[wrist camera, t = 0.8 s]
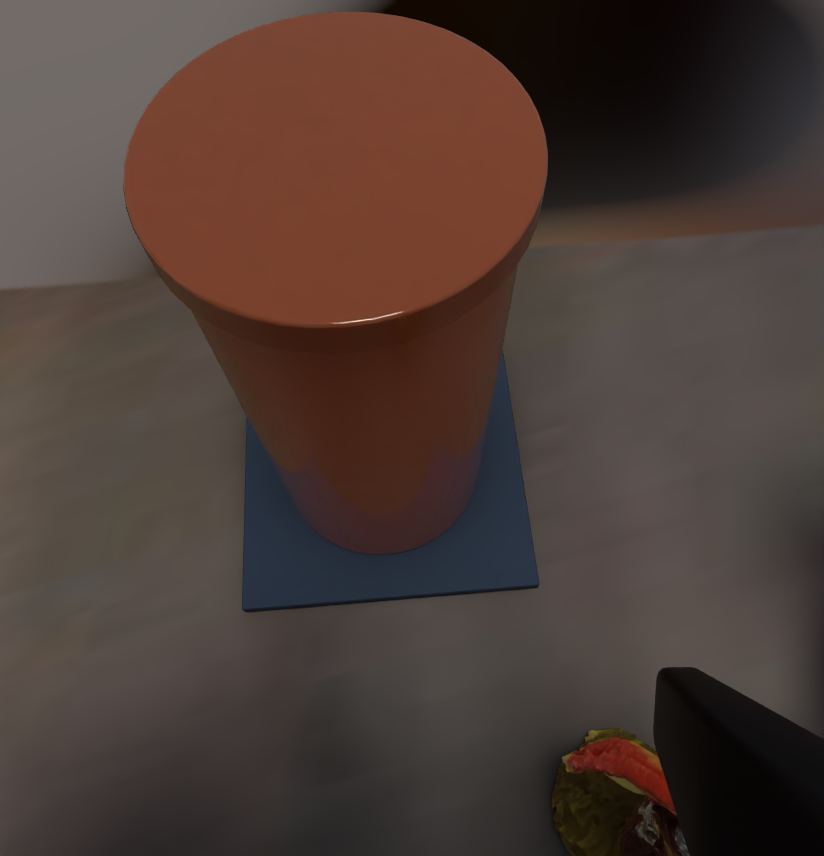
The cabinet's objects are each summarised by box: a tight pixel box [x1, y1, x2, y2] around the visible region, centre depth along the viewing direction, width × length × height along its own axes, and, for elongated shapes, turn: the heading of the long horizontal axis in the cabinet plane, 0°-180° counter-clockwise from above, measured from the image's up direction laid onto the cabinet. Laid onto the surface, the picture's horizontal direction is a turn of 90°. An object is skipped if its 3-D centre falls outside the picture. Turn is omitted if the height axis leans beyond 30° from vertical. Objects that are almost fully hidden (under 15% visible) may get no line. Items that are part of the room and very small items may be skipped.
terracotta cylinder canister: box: [123, 12, 548, 555], centre depth 17 cm, size 7×7×13 cm
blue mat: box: [242, 350, 539, 612], centre depth 23 cm, size 9×9×1 cm
